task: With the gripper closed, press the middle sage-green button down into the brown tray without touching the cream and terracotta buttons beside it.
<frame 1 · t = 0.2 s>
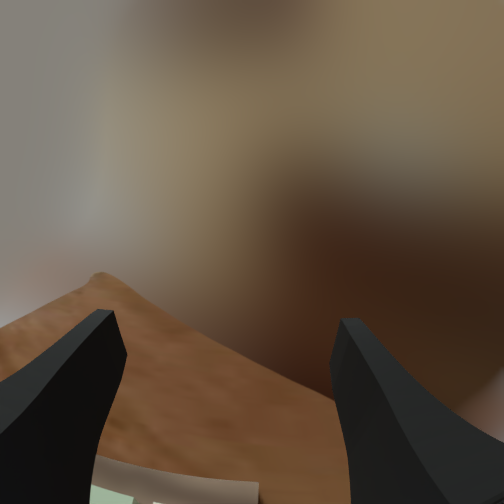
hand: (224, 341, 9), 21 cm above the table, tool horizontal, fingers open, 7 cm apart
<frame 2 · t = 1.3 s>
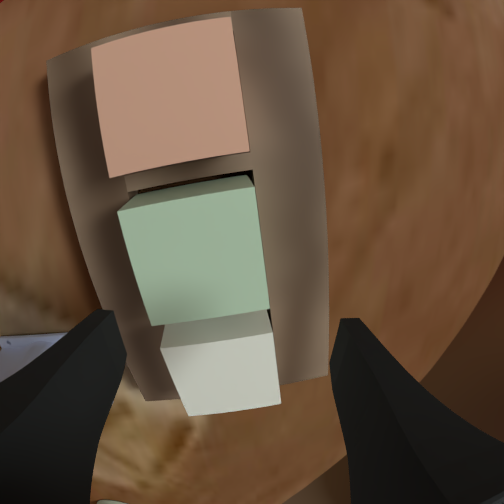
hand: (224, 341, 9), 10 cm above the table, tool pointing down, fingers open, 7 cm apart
terracotta button: (171, 97, 13), point 3 cm above the table, slide at 0.0 cm
sage button: (198, 248, 15), point 3 cm above the table, slide at 0.0 cm
brown tray: (201, 228, 18), on the table
cream button: (224, 360, 18), point 3 cm above the table, slide at 0.0 cm
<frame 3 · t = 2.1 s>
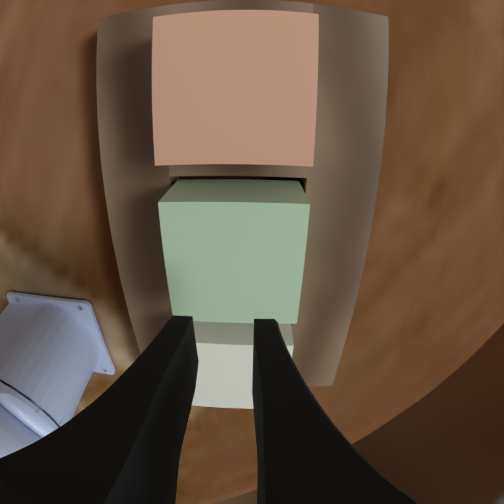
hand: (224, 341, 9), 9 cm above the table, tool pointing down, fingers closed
terracotta button: (236, 86, 11), point 3 cm above the table, slide at 0.0 cm
sage button: (235, 250, 15), point 3 cm above the table, slide at 0.0 cm
brown tray: (239, 223, 18), on the table
cream button: (237, 358, 18), point 3 cm above the table, slide at 0.0 cm
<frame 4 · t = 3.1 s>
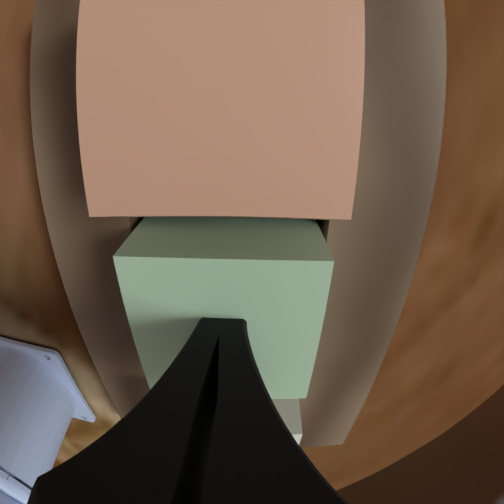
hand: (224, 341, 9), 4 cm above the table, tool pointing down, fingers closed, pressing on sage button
terracotta button: (220, 78, 7), point 3 cm above the table, slide at 0.0 cm
sage button: (227, 309, 11), point 2 cm above the table, slide at 0.8 cm, touching gripper
brown tray: (231, 273, 13), on the table
cream button: (231, 432, 14), point 3 cm above the table, slide at 0.0 cm
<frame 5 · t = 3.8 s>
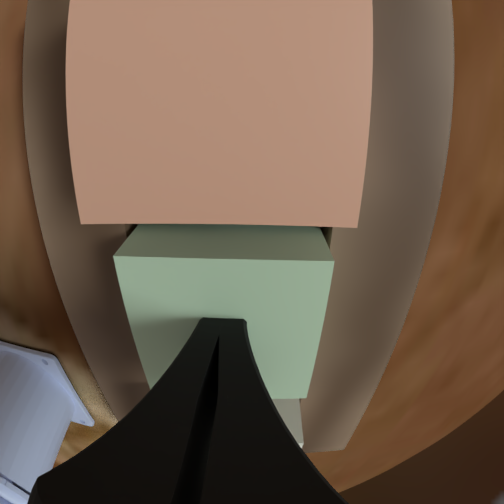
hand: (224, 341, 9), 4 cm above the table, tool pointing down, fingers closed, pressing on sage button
terracotta button: (219, 77, 6), point 3 cm above the table, slide at 0.0 cm
sage button: (227, 308, 11), point 2 cm above the table, slide at 1.3 cm, touching gripper
brown tray: (231, 278, 13), on the table
cream button: (231, 439, 13), point 3 cm above the table, slide at 0.0 cm
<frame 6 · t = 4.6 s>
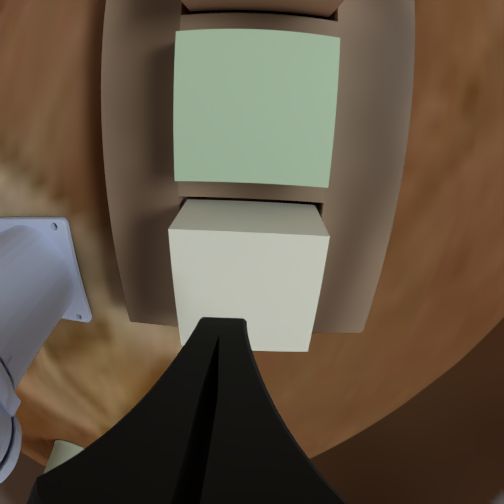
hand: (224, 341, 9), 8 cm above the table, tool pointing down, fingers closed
sage button: (255, 104, 12), point 2 cm above the table, slide at 1.3 cm
brown tray: (255, 104, 14), on the table
pale green cup: (81, 453, 35), on the table
cream button: (247, 276, 14), point 3 cm above the table, slide at 0.0 cm
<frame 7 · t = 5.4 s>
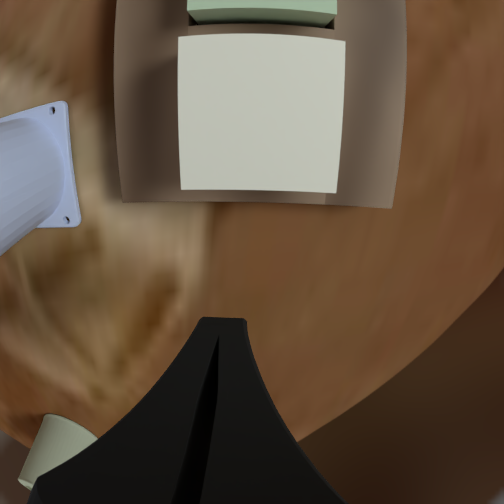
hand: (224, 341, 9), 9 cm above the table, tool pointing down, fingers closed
pale green cup: (72, 431, 33), on the table
cream button: (260, 110, 12), point 3 cm above the table, slide at 0.0 cm
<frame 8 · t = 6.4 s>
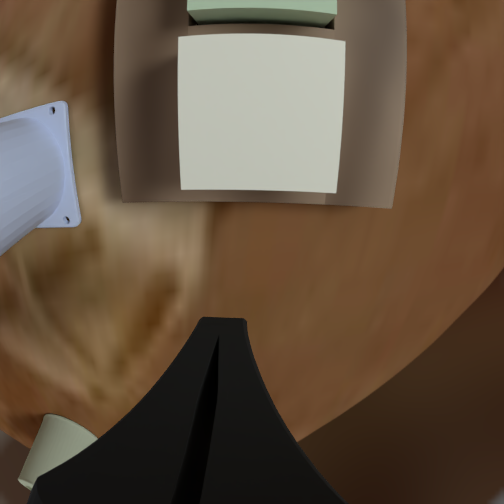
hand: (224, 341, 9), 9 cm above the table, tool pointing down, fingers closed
pale green cup: (72, 431, 33), on the table
cream button: (260, 110, 12), point 3 cm above the table, slide at 0.0 cm
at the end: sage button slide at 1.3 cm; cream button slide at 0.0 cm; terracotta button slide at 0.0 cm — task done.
